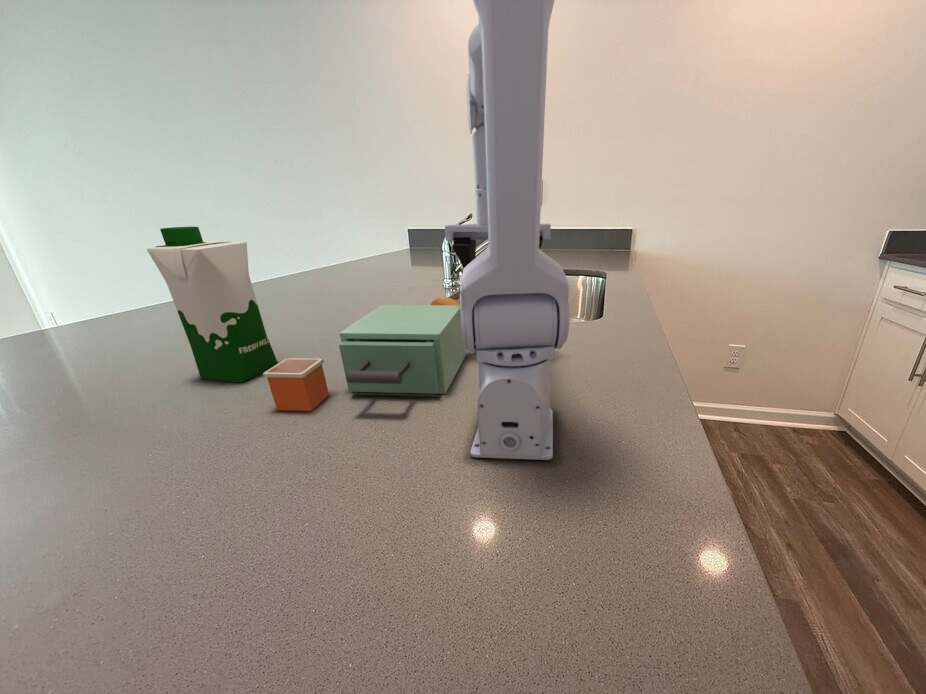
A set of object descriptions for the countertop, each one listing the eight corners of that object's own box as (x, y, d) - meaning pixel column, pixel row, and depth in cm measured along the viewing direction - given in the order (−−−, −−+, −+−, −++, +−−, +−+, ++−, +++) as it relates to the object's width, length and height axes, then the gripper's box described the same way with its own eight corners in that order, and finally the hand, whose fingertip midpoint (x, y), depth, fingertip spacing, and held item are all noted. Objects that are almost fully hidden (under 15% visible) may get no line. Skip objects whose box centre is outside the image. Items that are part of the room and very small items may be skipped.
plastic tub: (312, 412, 48) (302, 374, 46) (274, 411, 49) (262, 373, 47) (331, 394, 53) (323, 358, 51) (296, 393, 53) (286, 358, 51)
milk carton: (239, 358, 65) (194, 225, 56) (288, 362, 63) (250, 224, 55) (189, 381, 57) (129, 230, 49) (244, 386, 56) (192, 230, 47)
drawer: (426, 412, 46) (419, 360, 43) (330, 409, 47) (318, 359, 44) (458, 356, 62) (454, 316, 59) (385, 355, 63) (378, 315, 60)
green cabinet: (445, 394, 52) (439, 333, 49) (351, 391, 53) (339, 332, 50) (465, 355, 64) (462, 305, 61) (388, 354, 66) (381, 304, 62)
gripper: (551, 188, 57) (549, 285, 63) (450, 190, 58) (457, 285, 64) (551, 187, 51) (549, 296, 56) (437, 190, 52) (446, 296, 58)
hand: (499, 291), depth 60 cm, fingers open, 7 cm apart
